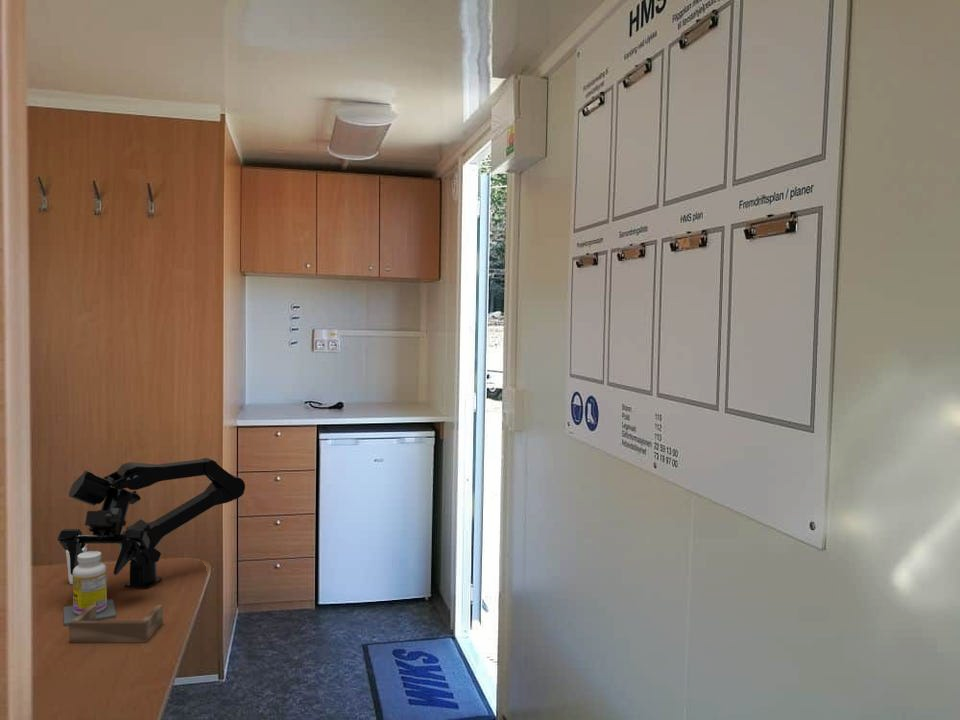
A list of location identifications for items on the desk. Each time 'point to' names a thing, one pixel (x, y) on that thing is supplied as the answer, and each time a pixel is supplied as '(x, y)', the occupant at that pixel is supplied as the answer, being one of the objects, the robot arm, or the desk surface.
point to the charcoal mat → (105, 614)
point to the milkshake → (69, 564)
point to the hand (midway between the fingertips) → (93, 574)
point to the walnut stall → (113, 627)
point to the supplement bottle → (89, 582)
